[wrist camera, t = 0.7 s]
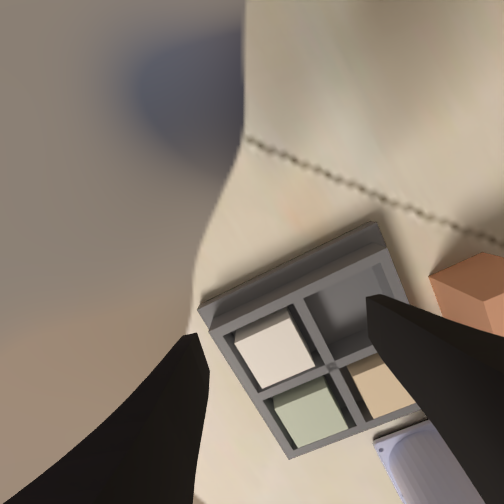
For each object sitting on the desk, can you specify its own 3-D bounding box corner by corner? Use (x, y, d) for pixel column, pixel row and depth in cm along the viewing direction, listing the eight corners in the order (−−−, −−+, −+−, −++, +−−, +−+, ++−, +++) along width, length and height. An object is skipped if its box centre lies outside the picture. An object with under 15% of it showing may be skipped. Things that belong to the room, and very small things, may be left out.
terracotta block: (495, 297, 20) (570, 329, 16) (443, 319, 21) (500, 356, 16) (481, 252, 20) (556, 270, 15) (427, 276, 20) (483, 301, 15)
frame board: (434, 379, 22) (466, 412, 19) (283, 439, 24) (287, 478, 21) (370, 221, 19) (396, 226, 16) (199, 304, 21) (188, 326, 17)
